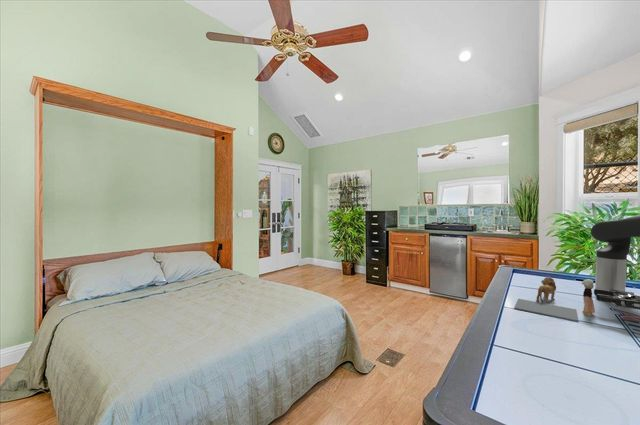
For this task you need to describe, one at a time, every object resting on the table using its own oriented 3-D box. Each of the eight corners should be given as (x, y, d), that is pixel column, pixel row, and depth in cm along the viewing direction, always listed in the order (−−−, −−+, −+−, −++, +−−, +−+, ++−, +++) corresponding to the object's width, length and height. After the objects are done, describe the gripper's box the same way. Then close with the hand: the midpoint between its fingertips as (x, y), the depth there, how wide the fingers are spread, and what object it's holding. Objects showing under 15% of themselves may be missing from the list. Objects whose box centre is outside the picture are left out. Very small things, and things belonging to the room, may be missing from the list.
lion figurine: (541, 295, 124) (541, 275, 124) (556, 298, 120) (557, 277, 120) (534, 302, 114) (535, 280, 114) (551, 306, 110) (552, 283, 110)
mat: (518, 299, 117) (518, 298, 117) (576, 310, 105) (576, 309, 105) (514, 308, 106) (514, 307, 106) (578, 322, 95) (578, 320, 95)
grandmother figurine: (597, 318, 98) (599, 282, 98) (583, 315, 101) (584, 280, 100) (591, 311, 105) (592, 277, 105) (577, 309, 107) (579, 276, 107)
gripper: (658, 288, 96) (593, 280, 107) (672, 299, 85) (597, 288, 96) (658, 310, 97) (592, 299, 107) (671, 323, 86) (596, 309, 96)
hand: (595, 294), depth 101 cm, fingers open, 8 cm apart
